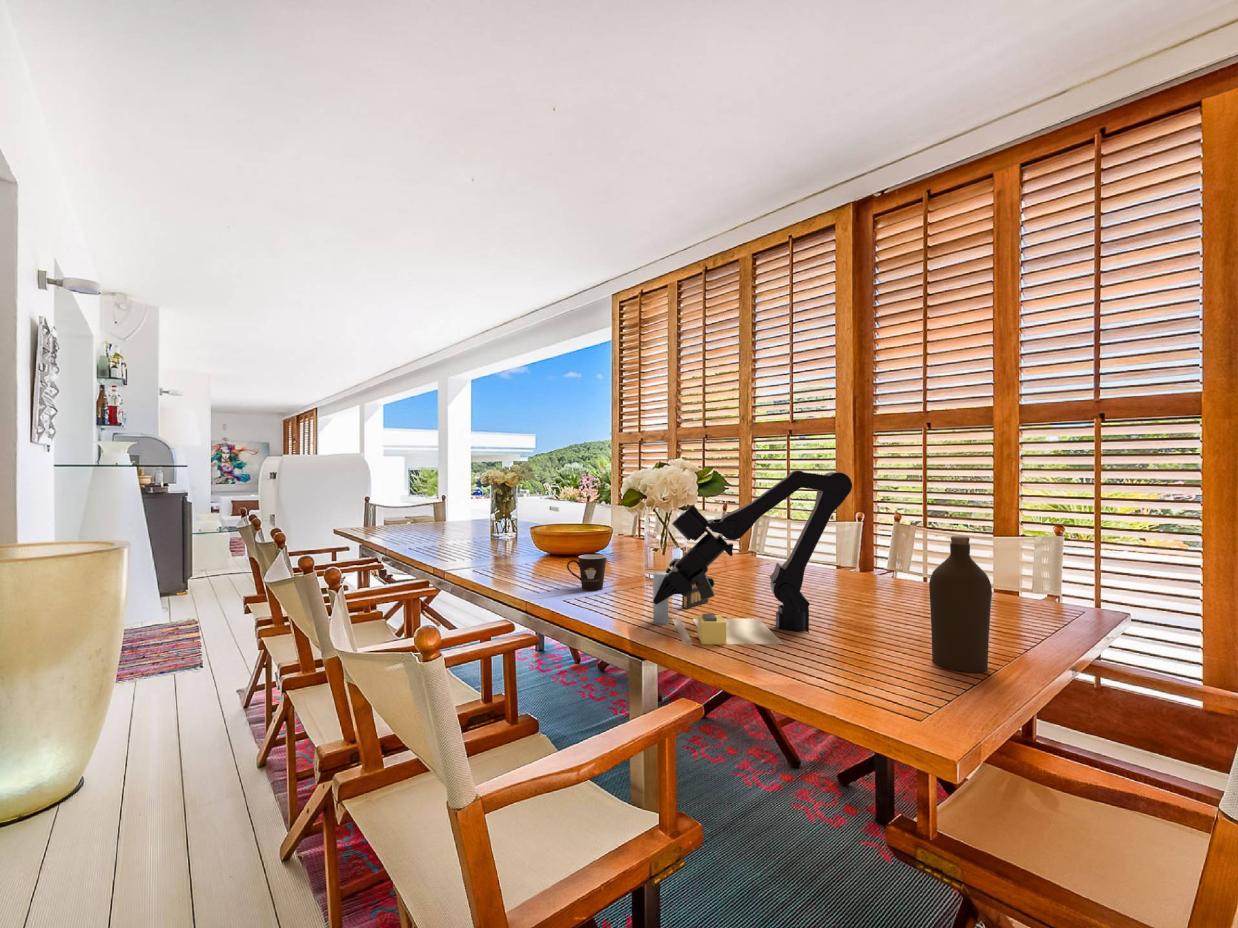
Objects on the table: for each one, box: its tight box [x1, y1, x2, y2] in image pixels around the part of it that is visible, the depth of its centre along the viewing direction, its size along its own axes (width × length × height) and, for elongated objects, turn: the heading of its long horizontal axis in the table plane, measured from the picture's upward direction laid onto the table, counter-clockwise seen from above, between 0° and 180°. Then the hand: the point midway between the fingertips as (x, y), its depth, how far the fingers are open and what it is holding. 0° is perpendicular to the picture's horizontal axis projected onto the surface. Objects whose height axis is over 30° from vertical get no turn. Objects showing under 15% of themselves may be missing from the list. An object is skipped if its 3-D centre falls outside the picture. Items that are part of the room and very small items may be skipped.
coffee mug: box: [566, 554, 607, 592], centre depth 184 cm, size 12×9×10 cm
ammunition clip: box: [681, 572, 709, 610], centre depth 163 cm, size 11×2×12 cm, turn 140°
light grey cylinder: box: [652, 571, 670, 626], centre depth 139 cm, size 4×4×13 cm
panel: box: [671, 617, 784, 646], centre depth 133 cm, size 21×20×2 cm
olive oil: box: [928, 535, 993, 673], centre depth 115 cm, size 11×11×25 cm
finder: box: [697, 613, 727, 645], centre depth 126 cm, size 5×6×5 cm
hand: (655, 600), depth 140 cm, fingers open, 5 cm apart
